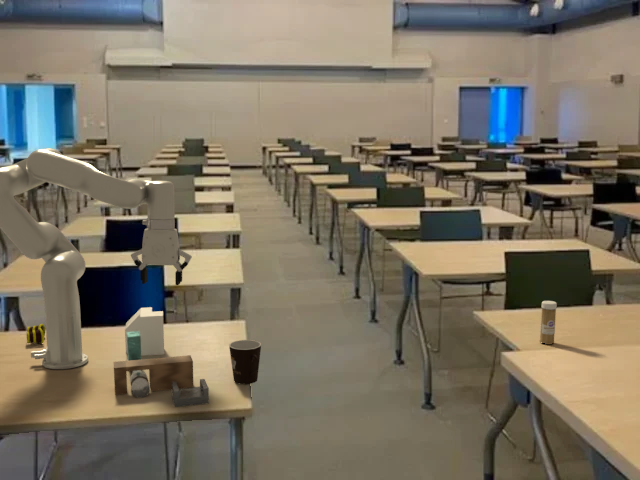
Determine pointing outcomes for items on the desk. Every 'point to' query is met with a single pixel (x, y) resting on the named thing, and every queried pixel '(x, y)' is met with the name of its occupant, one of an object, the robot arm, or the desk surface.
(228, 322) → the desk surface
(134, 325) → the corner bracket
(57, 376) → the desk surface
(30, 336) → the opera glasses
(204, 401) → the cradle
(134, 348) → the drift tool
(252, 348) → the dark brown paper cup
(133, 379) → the axle
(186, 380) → the wooden panel with opening
